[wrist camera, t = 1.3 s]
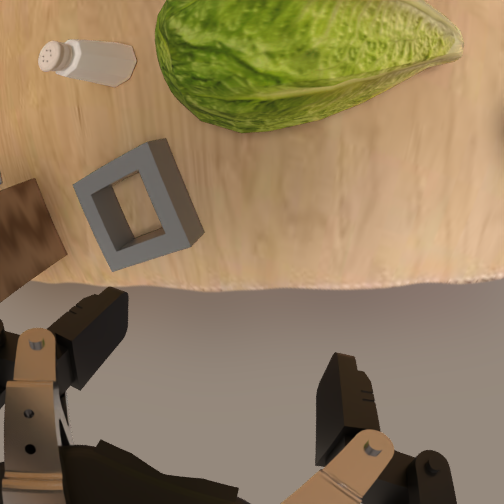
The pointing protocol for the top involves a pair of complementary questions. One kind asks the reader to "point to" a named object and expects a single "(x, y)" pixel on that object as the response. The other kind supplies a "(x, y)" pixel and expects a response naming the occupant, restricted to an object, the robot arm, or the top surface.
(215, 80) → the lettuce
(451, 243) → the top surface
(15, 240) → the awning shelter
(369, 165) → the top surface
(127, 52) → the salt shaker
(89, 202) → the socket block
